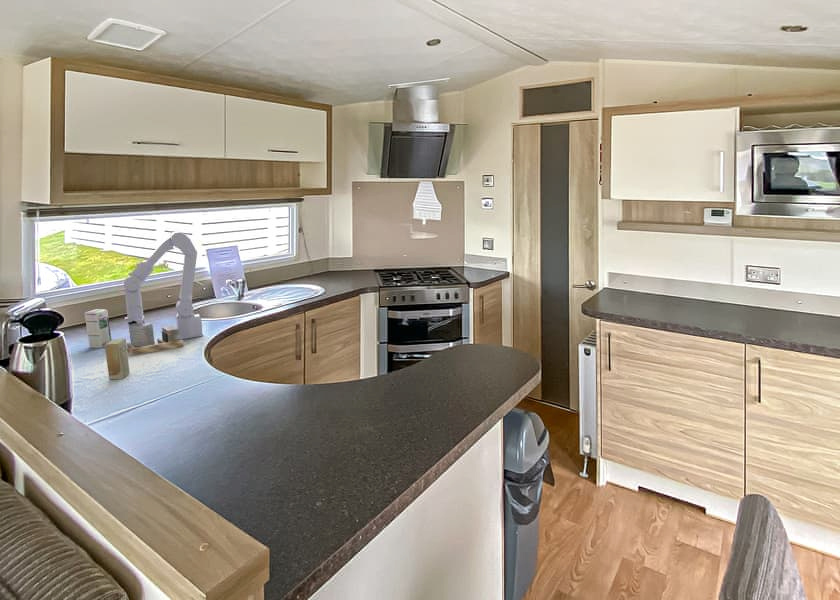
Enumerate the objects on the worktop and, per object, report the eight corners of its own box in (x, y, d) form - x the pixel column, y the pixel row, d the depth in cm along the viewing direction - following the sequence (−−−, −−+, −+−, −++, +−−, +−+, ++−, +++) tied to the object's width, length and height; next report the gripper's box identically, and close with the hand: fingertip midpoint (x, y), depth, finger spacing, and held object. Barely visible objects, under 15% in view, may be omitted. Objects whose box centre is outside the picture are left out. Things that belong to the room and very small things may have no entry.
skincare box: (117, 374, 189) (112, 338, 186) (130, 373, 189) (126, 338, 187) (108, 380, 182) (103, 343, 180) (122, 379, 183) (117, 343, 180)
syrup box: (101, 348, 221) (97, 312, 218) (88, 347, 222) (84, 311, 219) (112, 344, 226) (108, 309, 223) (99, 343, 227) (95, 308, 225)
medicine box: (155, 344, 225) (153, 323, 223) (146, 347, 221) (144, 326, 219) (139, 343, 227) (136, 322, 226) (130, 346, 223) (128, 324, 221)
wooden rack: (176, 341, 230) (174, 324, 228) (183, 346, 222) (181, 329, 221) (124, 349, 218) (122, 332, 216) (131, 355, 210) (129, 337, 209)
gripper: (119, 304, 229) (123, 336, 232) (127, 310, 218) (131, 343, 221) (138, 302, 234) (141, 334, 236) (147, 307, 223) (150, 340, 225)
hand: (137, 338), depth 229 cm, fingers closed
